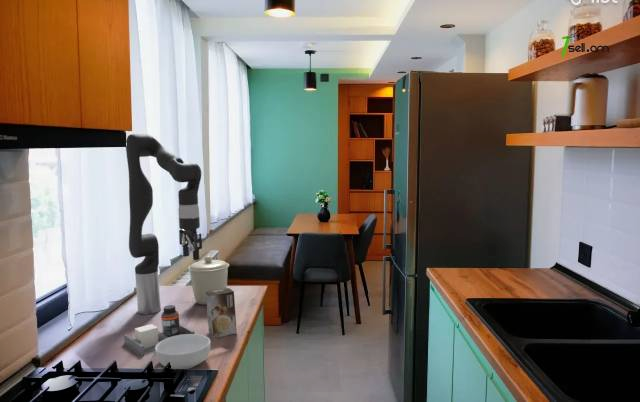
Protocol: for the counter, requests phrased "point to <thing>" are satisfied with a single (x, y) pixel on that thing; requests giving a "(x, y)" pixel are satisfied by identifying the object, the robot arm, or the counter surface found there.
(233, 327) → the coffee box
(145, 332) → the off-white block
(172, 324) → the supplement bottle
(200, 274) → the canister
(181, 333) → the slot rack
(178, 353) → the cereal bowl
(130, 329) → the counter surface
